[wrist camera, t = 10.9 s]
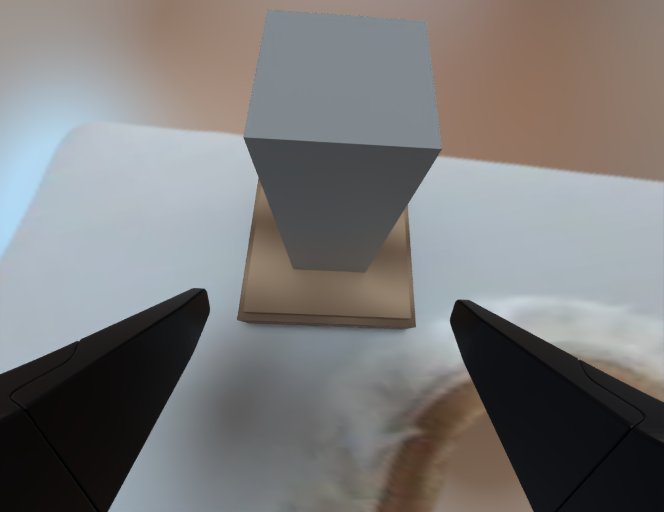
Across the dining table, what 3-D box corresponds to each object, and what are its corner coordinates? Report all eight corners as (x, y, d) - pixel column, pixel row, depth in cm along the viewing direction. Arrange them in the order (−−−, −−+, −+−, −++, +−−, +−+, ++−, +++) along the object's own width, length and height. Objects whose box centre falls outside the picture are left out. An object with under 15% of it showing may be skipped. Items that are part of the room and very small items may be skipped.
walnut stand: (404, 329, 20) (419, 326, 17) (247, 322, 19) (234, 319, 17) (397, 193, 24) (408, 172, 21) (265, 186, 23) (258, 164, 20)
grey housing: (365, 272, 18) (441, 149, 7) (293, 269, 18) (243, 137, 6) (365, 208, 19) (426, 20, 8) (299, 205, 19) (267, 9, 8)
